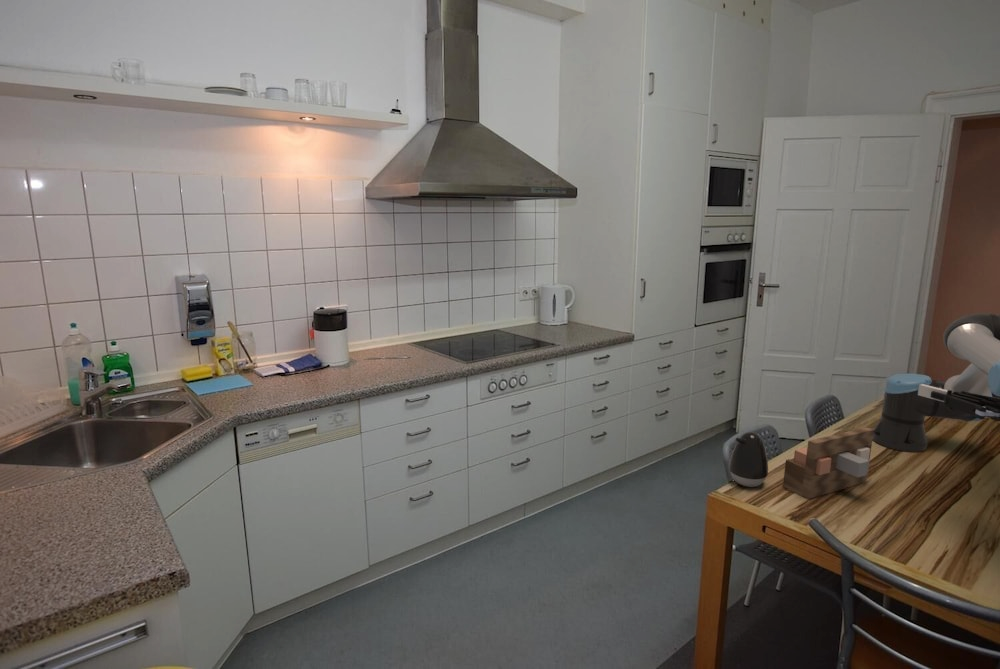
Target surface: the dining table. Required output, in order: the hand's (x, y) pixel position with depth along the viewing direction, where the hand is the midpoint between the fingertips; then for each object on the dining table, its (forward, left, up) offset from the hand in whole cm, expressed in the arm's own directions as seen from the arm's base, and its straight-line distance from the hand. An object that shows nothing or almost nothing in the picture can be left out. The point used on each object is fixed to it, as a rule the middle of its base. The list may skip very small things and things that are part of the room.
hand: (920, 389), depth 143 cm
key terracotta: (+12, -18, -25) cm, 33 cm away
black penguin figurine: (+22, -30, -32) cm, 49 cm away
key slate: (+5, -12, -25) cm, 28 cm away
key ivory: (-3, -15, -25) cm, 29 cm away
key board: (+4, -17, -32) cm, 37 cm away
